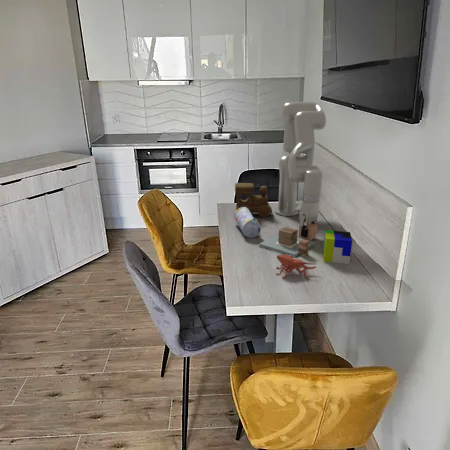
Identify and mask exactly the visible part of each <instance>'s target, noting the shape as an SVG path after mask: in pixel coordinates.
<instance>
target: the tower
mask: <svg viewBox="0 0 450 450" xmlns="http://www.w3.org/2000/svg"><path fill="white" fill-rule="evenodd" d="M308 248H309V241H308V240H304V239H302V240H300V241H299V249H298V252H299V254H300V255H299V256H302V255H303V257H305V255H306V256H307V255H308V254H309V249H310V248H309V249H308Z"/></svg>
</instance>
